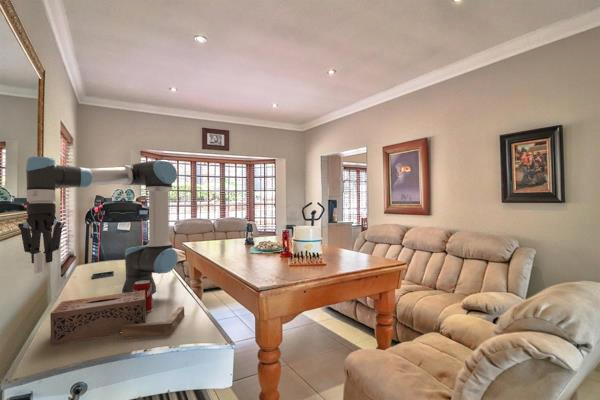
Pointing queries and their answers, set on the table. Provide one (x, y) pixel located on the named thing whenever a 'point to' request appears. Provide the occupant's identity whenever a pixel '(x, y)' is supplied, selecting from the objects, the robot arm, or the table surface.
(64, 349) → the table surface
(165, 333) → the walnut fence
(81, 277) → the table surface
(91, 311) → the tissue box cover
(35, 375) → the table surface
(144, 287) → the soda can
